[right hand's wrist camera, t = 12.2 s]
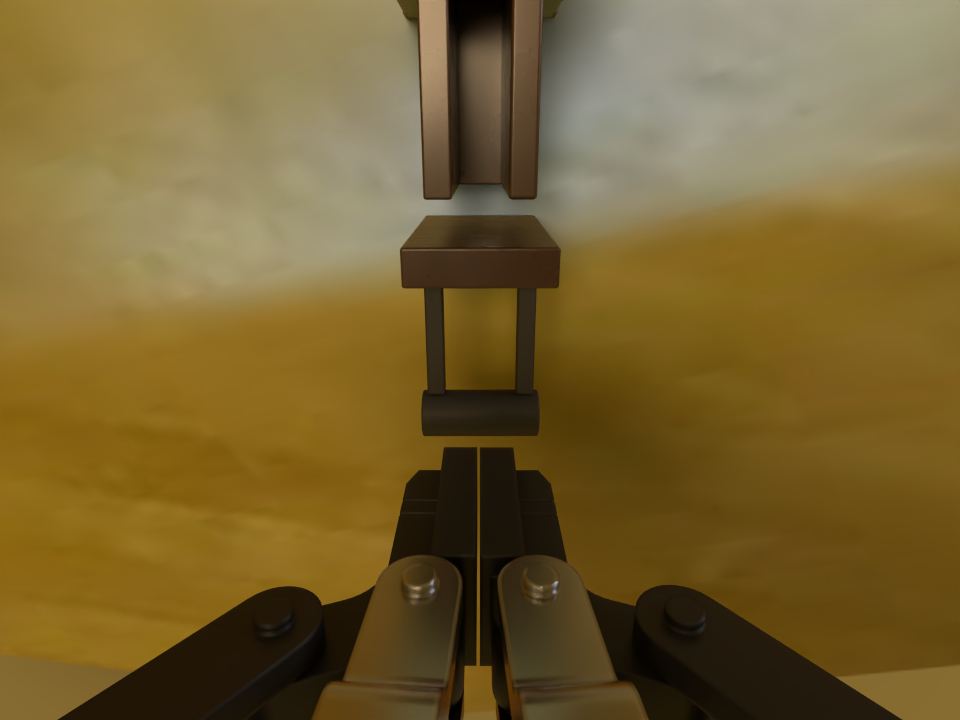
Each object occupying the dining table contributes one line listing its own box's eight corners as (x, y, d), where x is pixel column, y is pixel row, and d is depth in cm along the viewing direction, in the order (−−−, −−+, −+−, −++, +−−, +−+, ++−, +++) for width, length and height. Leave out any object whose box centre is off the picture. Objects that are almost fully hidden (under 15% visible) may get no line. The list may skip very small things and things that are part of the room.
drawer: (529, 371, 27) (550, 465, 19) (431, 371, 27) (410, 465, 19) (554, -400, 18) (613, -841, 10) (405, -400, 18) (345, -839, 10)
